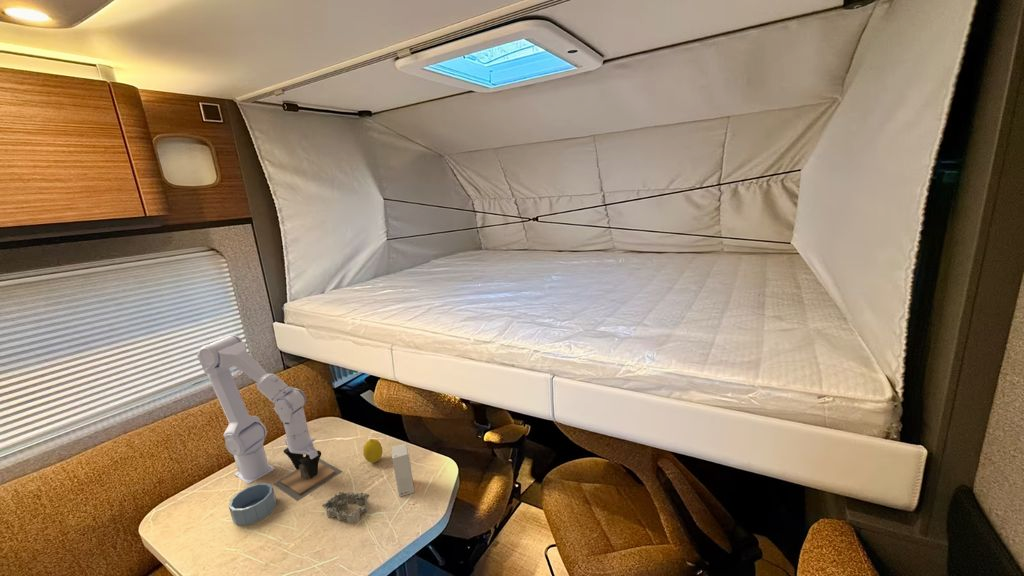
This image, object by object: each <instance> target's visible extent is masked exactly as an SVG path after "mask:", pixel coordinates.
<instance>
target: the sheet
mask: <svg viewBox="0 0 1024 576" xmlns="http://www.w3.org/2000/svg"><path fill="white" fill-rule="evenodd" d="M299 468H300V469H299V470H298V471H296V470H295V471H296V472H294V471H293V472H294V473H293V472H292V473H293V474H291V473H290V474H291V475H289V474H288V475H289V476H288V477H286V476H285V477H286V478H284V477H283V478H284V479H283V480H281V479H280V480H281V481H280V482H281V483H282V484H283V485H285V486H286V487H288V488H289V489H291V490H292V491H294V492H295V493H297V494H298V495H302V494H303V493H305V492H306V491H308V490H309V489H311V488H312V487H314V486H316V485H317V484H319V483H320V482H322V481H323V480H325V479H326V478H328V477H329V476H331V475H332V474H334V473H335V471H334V470H332V469H331V468H329V467H327V466H325V465H324V464H322V463H320V462H319V463H318V474H317V475H316V476H314V477H313V478H310V477H309V475H308V473H307V471H306V469H305V467H304V465H303V464H300V465H299Z"/></svg>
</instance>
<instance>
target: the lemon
mask: <svg viewBox="0 0 1024 576" xmlns="http://www.w3.org/2000/svg"><path fill="white" fill-rule="evenodd" d="M383 451H384V450H383V446H382V444H381V442H380V441H379V440H377V439H375V438H373V439H369V440H367V441H366V443H365V444H364V446H363V456H364V459H365V460H366V461H367V462H369V463H371V464H372V463H373V464H375V463H378V461H380V460H381V458H382V456H383Z"/></svg>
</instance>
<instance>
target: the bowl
mask: <svg viewBox="0 0 1024 576" xmlns="http://www.w3.org/2000/svg"><path fill="white" fill-rule="evenodd" d="M276 505H277V498H276V493H275V490H274V487H273V485H271V484H270V483H268V482H267V483H266V482H265V483H264V482H261V483H260V482H259V483H256V484H253V485H249V486H247V487H246V488H243V489H242V490H240V491H239V492H237V493H236V494H235V495H233V497H232V498H231V499H230V500H229V504H228V509H229V510H228V511H229V513H230V516H231V519H232V522H233V523H234V524H235V525H236V526H249V525H251V524H255V523H257V522H259V521H262V520H264V518H266V517H267V516H269V515H270V514H271V513H272V512H273V511H274V510H275V508H276V507H277V506H276Z"/></svg>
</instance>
